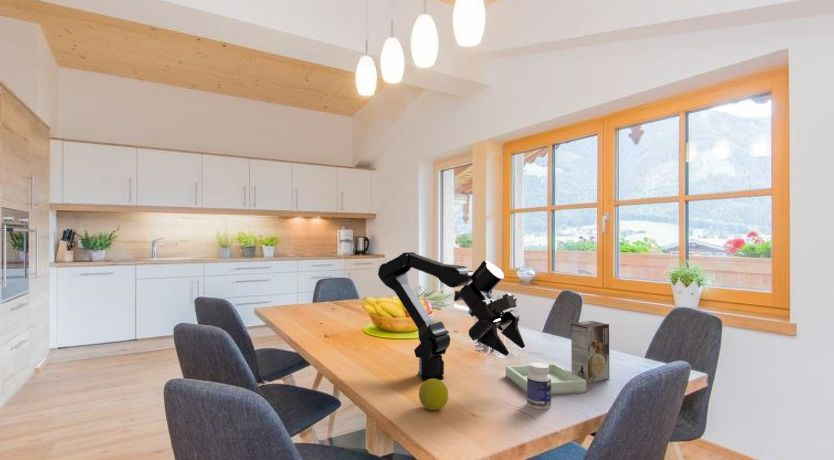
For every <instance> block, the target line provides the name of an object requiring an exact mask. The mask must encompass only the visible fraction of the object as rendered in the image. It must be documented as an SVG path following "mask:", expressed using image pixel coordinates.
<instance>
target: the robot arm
mask: <svg viewBox="0 0 834 460" xmlns="http://www.w3.org/2000/svg"><path fill="white" fill-rule="evenodd" d="M411 269H415V270H418V271H420V272H423V273H426V274H428V275H430V276H434V277H435V278H437V279H438V281H439V282H441V283H442V284H444V285H445V286H447V287H448V288H459V287H460V288H461V289H460V290H455V291H454V298H453V301H454V302H458V301H463V302H464V304H465V305H466V306H467V307H468V309H469V310H470V313H469V315H470V316H471V318H473V317H475V318H476V319H477V321H476V322H475V323H474V324H472V326H471V327H470V328H469V329H468V336H469V337H470V339H471V340H472V341H473V342H474V341H476V342H477V343H481V344H483V345H484V346H487V347H489V348H490V349H492V350H494V351H496V352H497V353H500V355H501V354H502V355H503V356H505V357H507V356H509V354H510V352H509V351H508V349H507V347H506V346H505V344H504V341H502V339H501V337H500V336H499V334H498V330H499V331H501V332H500V333H501V334H502V335H503V336H505V338H507V339H509V341H511V342H512V343H514V344H515V345H516V346H517V347H519V348H520V349H524V348H525V347H526V344H525V342H524V340H523V336H522V335H521V332H520V329H519V321H520V317H521V315H520V314H519V312H518V311H517V310H513V308H516V307H517V304H516V303H517V300H518V299H517V297H515V295H514V294H511V292H508V293H506V294H502V297H501V298H498V299H496V300H495V299H494V298H489V297H488V296H486V294H485V292H487V293H490V292H492V290H493V289H494V288H495V287H496V286H497V285H498V284H499V283H500V282H501V281H503V279H505V278H504V277H505V275H504V273H503V271H502V269H500V268H499V267H497V266H496V265H495V264H493V263H491V262H490V261H489V260H482V262H481V263H480V265H479V267H478V268H477V269H475V270H470V268H469V267H467V266H464V265H459V264H448V263H442V262H440V261H437V260H434V259H432V258H428V257H425V256H423V255H419V254H417V253H415V251H406V252H403V253H401V254H399V255H398V256H397V257H395V258H393V259H391V260H389V261H387V262H385V263H384V262H383V263H382V264H381V265H380V266H379V268H378V271H377V275H378V278H379V279H380V281H381V282H382V283H383V284H384V286H386V287H388V289H390V290H392V291H393V292H394V293H395V294H396V296H397V298H398V299H399V301H400V302H401V304H402V306H403V307H404V308H405V310H406V312H407V313H408V315H409V317H410V318H411V320H412V322H413V323H414V324H415V326H416V327H417V332H418V333H417V334H418V339H419V340H418V341H419V342H420V343H419V344H418V345H417V346H416V347H415V349H414V355H415V358H418V361H419V362H418V365H419V368H418V371H417V375H418V376H419V378H420V379H421V380H422V381H426V380H428V379H438V380H444V375H445V373H444V372H445V361H444V360H443V355H445V354H446V352H447V349H448V348H449V347H450V345H451V337H450V334H449V333H450V331H449V330H447V328H446V327H445V324H444V323H443V322H442V321H437V322H436V321H434V319H432V318H431V316H430V314H429V313H428V312H427V310H426V309H425V307H424V306H423V304H422V302H421V301H420V299H419V298H418V295H416V293H415V291H414V290H413V289H412V287H411V286H410V284H409V281H408V277H409V276H408V272H410V271H411ZM509 309H511V310H509Z"/></svg>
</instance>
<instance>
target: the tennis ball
mask: <svg viewBox="0 0 834 460" xmlns="http://www.w3.org/2000/svg"><path fill="white" fill-rule="evenodd" d="M418 397H419V401H420V403H421V405H422V407H424V408H425V409H427V410H430V411H438V410H440V409H443V408H444V407H445V406H446V404H447V402H448V400H449V390H448V387H447V385H446V384H445V383H444V382H443V381H442V380H441V379H428V380H424V381H423V382H422V383H421V385H420V388H419V391H418Z"/></svg>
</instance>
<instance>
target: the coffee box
mask: <svg viewBox="0 0 834 460" xmlns="http://www.w3.org/2000/svg"><path fill="white" fill-rule="evenodd" d="M570 328H571V330H570V331H571V332H570V336H571V339H570V340H571V345H570V347H571V349H570V350H571V373H573V374H575V375H577V376H579V377H580V378H582V379H584V380H586V384H591V383H596V382H599V381H604V380H609V379H610V324H608V323H603V322H600V321H594V320H590V321H589V320H588V321H580V322H573V323H571V324H570Z"/></svg>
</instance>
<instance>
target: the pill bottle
mask: <svg viewBox="0 0 834 460" xmlns="http://www.w3.org/2000/svg"><path fill="white" fill-rule="evenodd" d="M547 364H548V363H543V362H531V363H529V364H528V365H529V369H530V371H531V372H529V373H528V375H527V394H526V404H527V405H528V407H529V408H532V409H536V410H548V409H550V408H551V406H552V395H551V376H550V375H549V374H548V372H549V365H547Z"/></svg>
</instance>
